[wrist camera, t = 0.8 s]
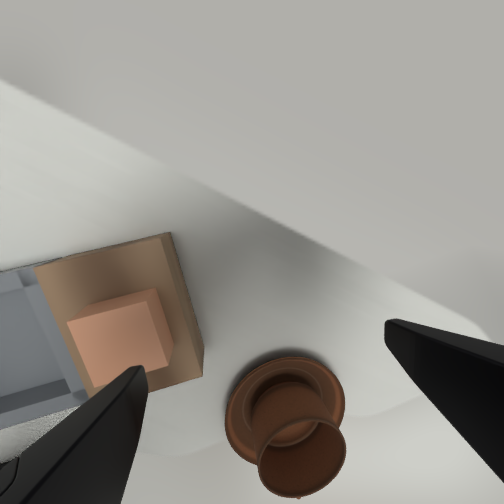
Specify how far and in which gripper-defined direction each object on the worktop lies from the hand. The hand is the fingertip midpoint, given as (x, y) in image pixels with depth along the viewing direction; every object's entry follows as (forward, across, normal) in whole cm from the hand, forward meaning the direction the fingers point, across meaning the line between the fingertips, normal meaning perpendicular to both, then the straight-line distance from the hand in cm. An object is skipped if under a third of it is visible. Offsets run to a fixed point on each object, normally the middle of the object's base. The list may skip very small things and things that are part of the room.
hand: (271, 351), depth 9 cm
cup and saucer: (+13, -3, +15) cm, 20 cm away
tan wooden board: (+13, +9, +2) cm, 16 cm away
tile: (+9, +8, +2) cm, 12 cm away
